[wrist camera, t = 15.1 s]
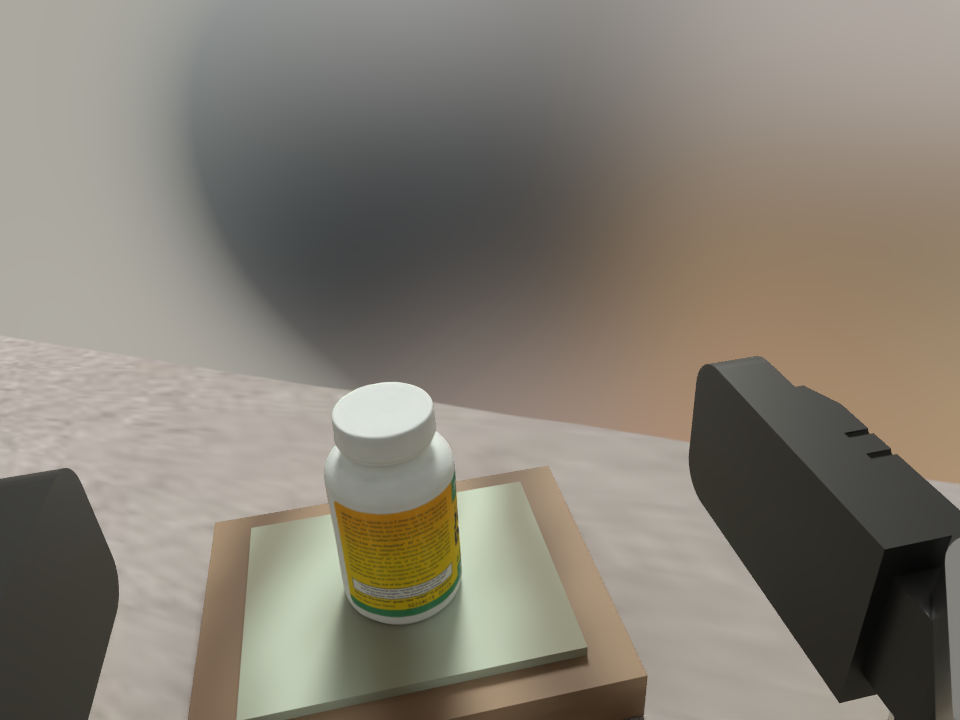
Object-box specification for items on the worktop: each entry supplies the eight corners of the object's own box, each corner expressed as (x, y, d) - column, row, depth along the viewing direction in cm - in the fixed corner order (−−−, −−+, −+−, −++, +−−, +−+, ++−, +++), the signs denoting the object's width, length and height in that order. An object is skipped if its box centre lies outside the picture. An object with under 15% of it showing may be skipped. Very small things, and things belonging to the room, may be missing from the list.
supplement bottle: (329, 567, 35) (295, 395, 31) (432, 526, 38) (415, 359, 33) (371, 649, 31) (339, 465, 27) (484, 598, 33) (474, 419, 29)
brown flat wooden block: (548, 500, 43) (548, 458, 42) (643, 714, 31) (648, 667, 30) (225, 558, 41) (213, 515, 39) (195, 817, 29) (176, 770, 27)
